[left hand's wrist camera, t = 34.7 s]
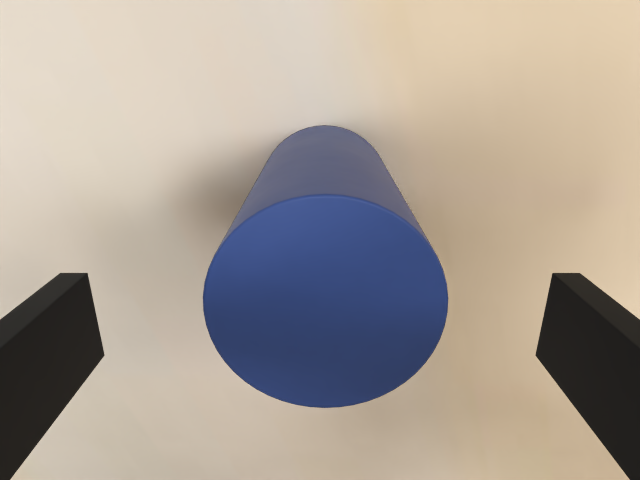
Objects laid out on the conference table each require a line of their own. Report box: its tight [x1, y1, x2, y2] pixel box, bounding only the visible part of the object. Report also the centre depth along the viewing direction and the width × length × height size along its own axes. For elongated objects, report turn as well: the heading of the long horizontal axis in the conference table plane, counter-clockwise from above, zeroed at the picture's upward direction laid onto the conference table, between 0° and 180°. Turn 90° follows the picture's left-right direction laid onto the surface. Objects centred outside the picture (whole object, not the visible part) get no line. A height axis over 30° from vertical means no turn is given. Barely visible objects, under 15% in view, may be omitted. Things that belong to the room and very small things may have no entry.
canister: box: [203, 126, 448, 408], centre depth 17 cm, size 6×6×12 cm
